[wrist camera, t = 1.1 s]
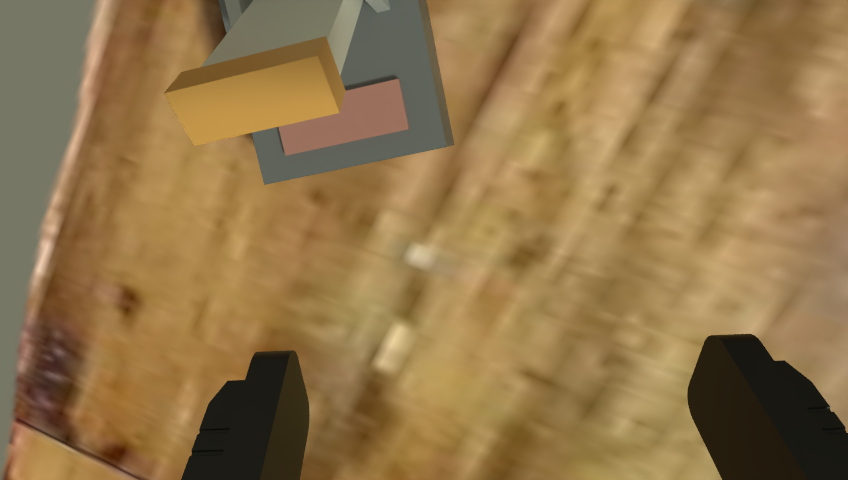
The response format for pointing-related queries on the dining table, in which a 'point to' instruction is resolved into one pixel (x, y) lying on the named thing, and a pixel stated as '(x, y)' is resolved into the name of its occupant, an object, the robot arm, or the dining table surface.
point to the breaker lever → (268, 70)
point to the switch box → (366, 98)
